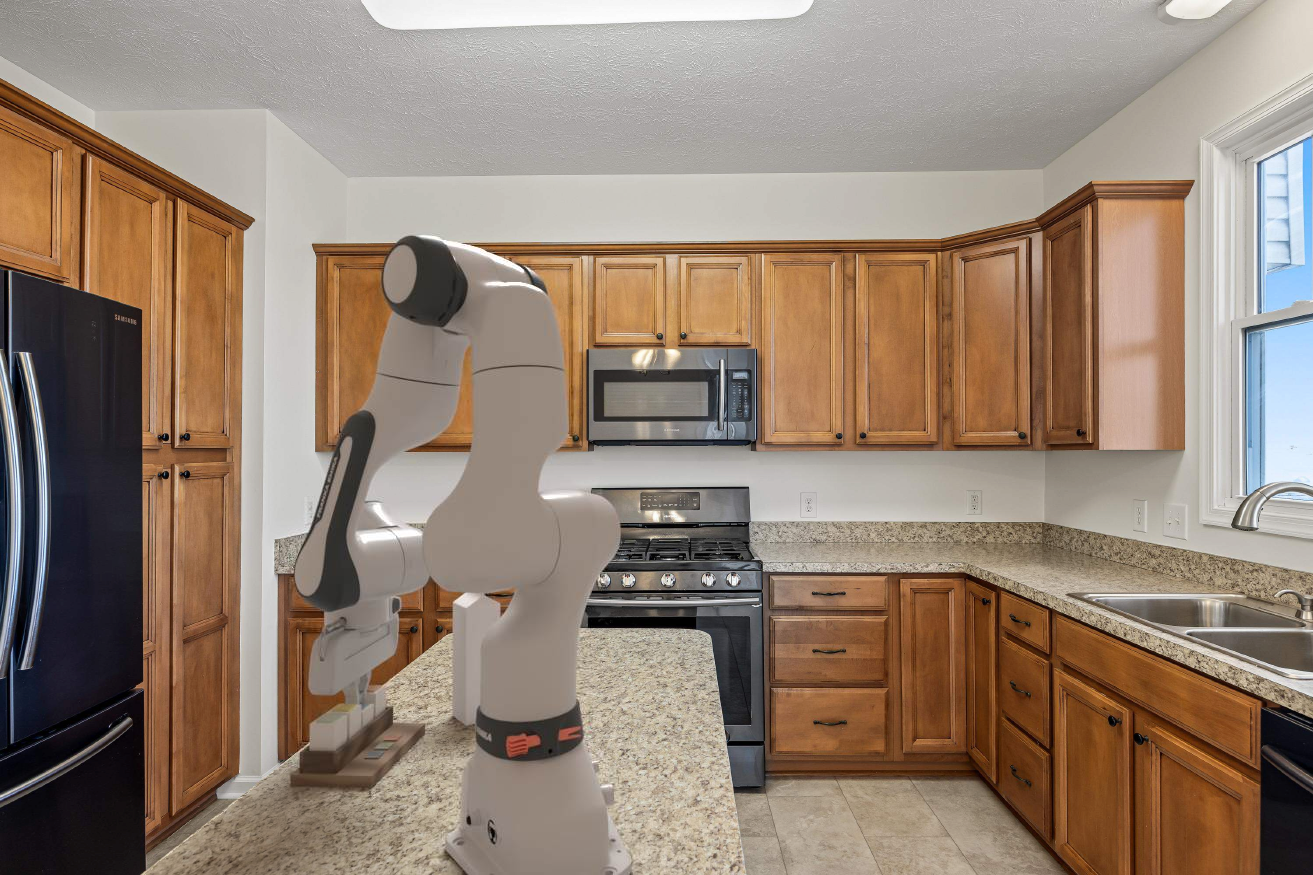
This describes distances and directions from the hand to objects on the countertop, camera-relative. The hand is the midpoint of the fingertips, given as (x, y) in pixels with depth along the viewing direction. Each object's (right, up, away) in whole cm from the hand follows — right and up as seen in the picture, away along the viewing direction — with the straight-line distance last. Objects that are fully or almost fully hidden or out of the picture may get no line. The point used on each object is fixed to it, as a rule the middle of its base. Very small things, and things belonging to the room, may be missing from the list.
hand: (356, 704), depth 102 cm
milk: (+14, -7, +13) cm, 21 cm away
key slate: (0, -4, 0) cm, 4 cm away
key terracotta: (+1, -3, +4) cm, 5 cm away
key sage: (0, -3, -8) cm, 9 cm away
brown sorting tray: (+2, -7, -2) cm, 7 cm away
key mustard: (0, -3, -4) cm, 5 cm away
